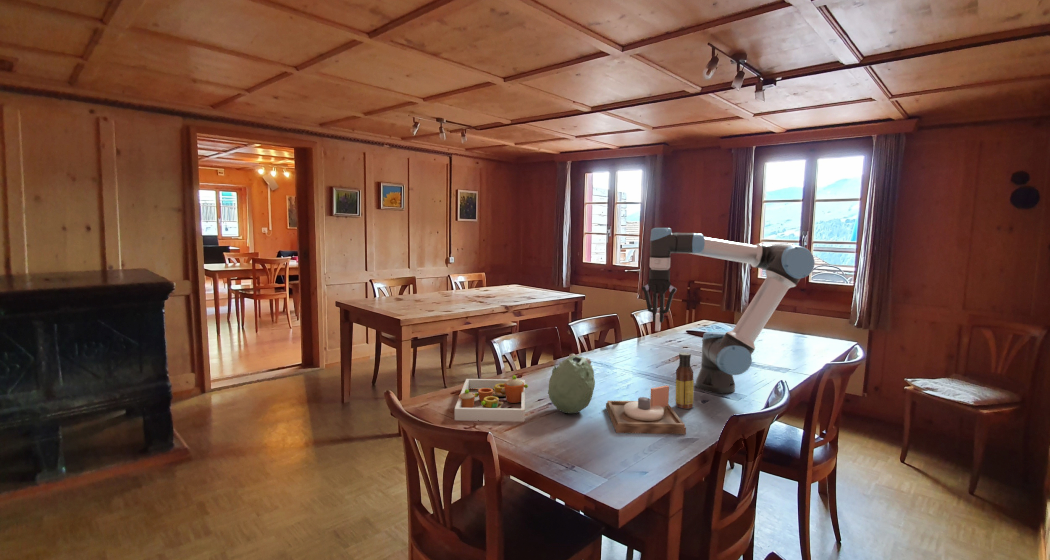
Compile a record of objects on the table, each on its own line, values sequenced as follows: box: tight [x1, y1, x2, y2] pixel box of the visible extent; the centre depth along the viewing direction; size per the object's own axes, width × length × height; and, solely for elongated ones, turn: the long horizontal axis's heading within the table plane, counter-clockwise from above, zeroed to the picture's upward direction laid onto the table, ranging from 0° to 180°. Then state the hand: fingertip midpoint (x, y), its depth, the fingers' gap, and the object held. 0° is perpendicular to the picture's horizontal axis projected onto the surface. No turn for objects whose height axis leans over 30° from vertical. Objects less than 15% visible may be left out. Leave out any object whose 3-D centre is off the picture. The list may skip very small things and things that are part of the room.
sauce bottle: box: [675, 352, 695, 410], centre depth 186 cm, size 7×6×20 cm
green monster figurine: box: [547, 353, 596, 414], centre depth 179 cm, size 16×19×20 cm
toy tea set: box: [458, 375, 529, 408], centre depth 186 cm, size 26×16×10 cm, turn 138°
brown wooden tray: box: [605, 400, 687, 435], centre depth 173 cm, size 22×22×3 cm
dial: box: [624, 385, 670, 421], centre depth 173 cm, size 18×13×8 cm
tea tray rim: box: [454, 378, 526, 422], centre depth 187 cm, size 23×33×4 cm
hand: (657, 330), depth 194 cm, fingers closed
